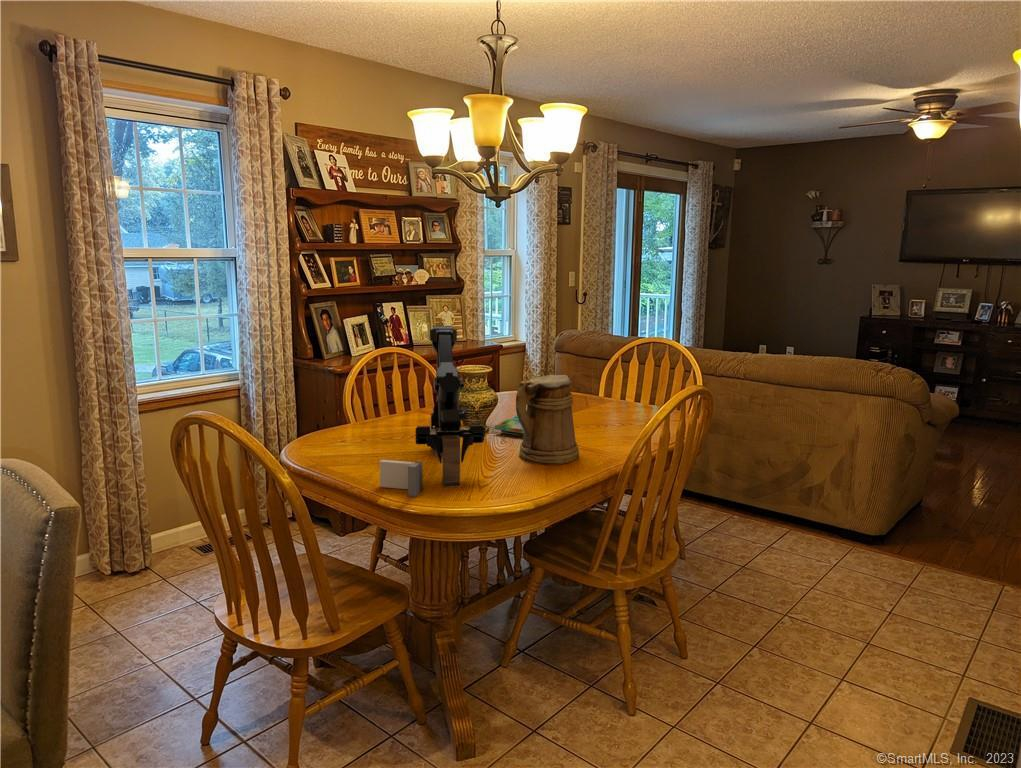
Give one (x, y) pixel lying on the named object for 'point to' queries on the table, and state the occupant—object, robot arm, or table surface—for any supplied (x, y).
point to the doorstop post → (451, 461)
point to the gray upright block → (413, 480)
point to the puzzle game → (511, 426)
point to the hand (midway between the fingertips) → (451, 462)
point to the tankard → (546, 420)
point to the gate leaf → (397, 474)
